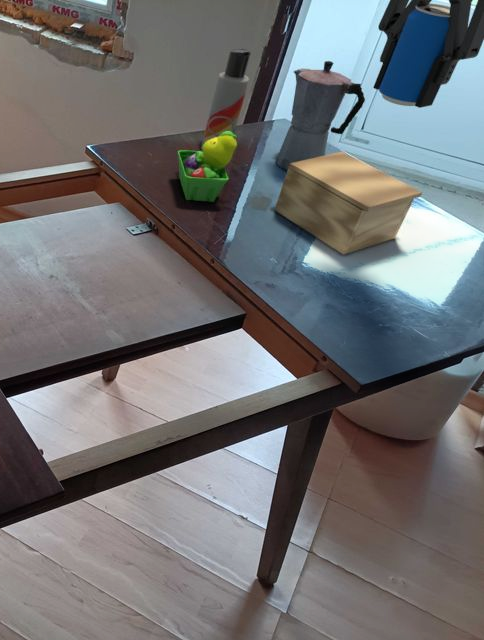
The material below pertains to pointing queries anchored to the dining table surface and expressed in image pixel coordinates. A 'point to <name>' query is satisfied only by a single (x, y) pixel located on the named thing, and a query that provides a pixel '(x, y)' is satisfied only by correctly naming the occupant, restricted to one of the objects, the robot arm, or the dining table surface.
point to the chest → (337, 215)
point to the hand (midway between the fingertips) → (401, 96)
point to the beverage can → (415, 54)
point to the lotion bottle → (228, 95)
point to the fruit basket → (206, 168)
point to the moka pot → (316, 113)
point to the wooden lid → (355, 181)
